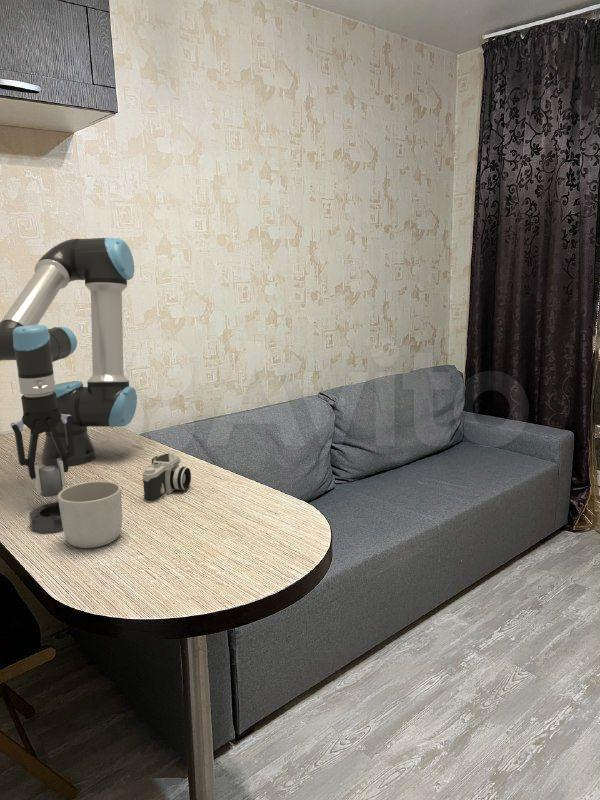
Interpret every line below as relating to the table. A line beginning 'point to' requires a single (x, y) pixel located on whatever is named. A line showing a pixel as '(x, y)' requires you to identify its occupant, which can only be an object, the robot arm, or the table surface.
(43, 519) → the grey ring
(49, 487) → the cap
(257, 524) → the table surface
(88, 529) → the planter
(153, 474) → the camera
